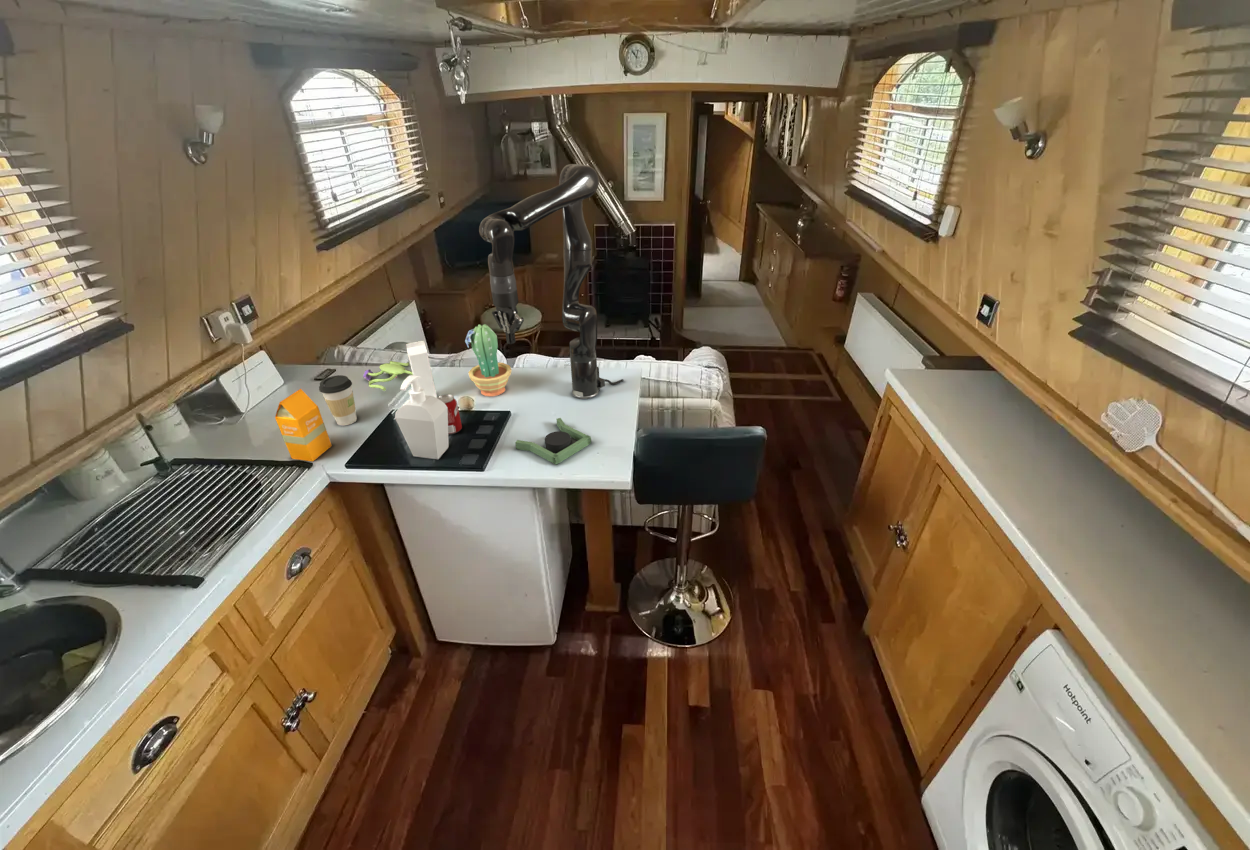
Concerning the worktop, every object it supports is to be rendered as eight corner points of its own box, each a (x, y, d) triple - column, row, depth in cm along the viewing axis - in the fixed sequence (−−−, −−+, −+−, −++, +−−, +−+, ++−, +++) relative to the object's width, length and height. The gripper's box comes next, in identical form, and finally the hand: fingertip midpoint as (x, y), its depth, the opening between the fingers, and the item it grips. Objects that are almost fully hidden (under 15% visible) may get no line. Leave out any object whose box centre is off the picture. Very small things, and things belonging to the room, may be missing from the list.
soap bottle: (402, 460, 166) (381, 384, 153) (419, 442, 175) (401, 368, 161) (439, 465, 164) (421, 387, 150) (455, 446, 172) (439, 371, 159)
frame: (559, 423, 183) (559, 417, 182) (595, 440, 174) (595, 434, 173) (515, 448, 171) (514, 441, 170) (550, 468, 162) (550, 461, 160)
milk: (418, 397, 200) (404, 340, 189) (435, 393, 202) (422, 337, 191) (420, 404, 195) (406, 346, 184) (438, 400, 198) (425, 343, 186)
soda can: (456, 437, 177) (449, 404, 171) (437, 435, 178) (429, 402, 172) (465, 426, 183) (459, 394, 176) (447, 424, 184) (440, 392, 177)
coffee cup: (369, 416, 189) (357, 377, 181) (345, 430, 181) (332, 390, 173) (348, 411, 192) (335, 372, 185) (324, 424, 185) (310, 384, 177)
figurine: (374, 402, 198) (370, 388, 195) (359, 374, 217) (355, 361, 214) (426, 388, 206) (423, 374, 203) (407, 363, 225) (404, 350, 222)
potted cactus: (488, 378, 212) (478, 316, 199) (522, 385, 207) (514, 321, 194) (462, 395, 201) (450, 331, 187) (497, 404, 195) (487, 337, 182)
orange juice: (332, 445, 174) (312, 389, 163) (312, 461, 167) (290, 403, 156) (310, 442, 175) (289, 387, 165) (290, 458, 168) (267, 401, 158)
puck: (558, 436, 176) (558, 428, 175) (576, 445, 172) (576, 437, 170) (540, 447, 171) (539, 439, 170) (557, 456, 167) (557, 448, 165)
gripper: (528, 289, 162) (534, 344, 171) (500, 281, 170) (507, 334, 179) (508, 296, 158) (515, 352, 167) (479, 287, 165) (488, 341, 174)
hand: (511, 343), depth 173 cm, fingers closed
